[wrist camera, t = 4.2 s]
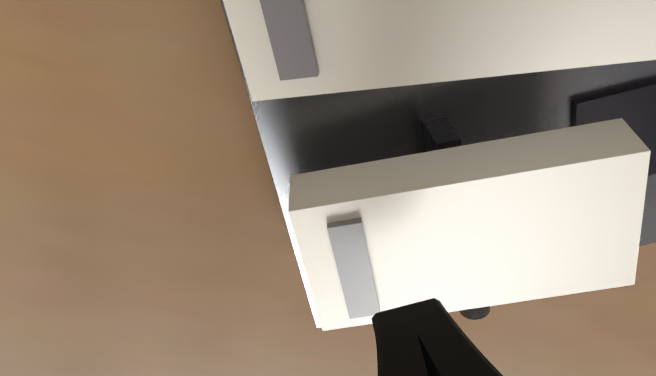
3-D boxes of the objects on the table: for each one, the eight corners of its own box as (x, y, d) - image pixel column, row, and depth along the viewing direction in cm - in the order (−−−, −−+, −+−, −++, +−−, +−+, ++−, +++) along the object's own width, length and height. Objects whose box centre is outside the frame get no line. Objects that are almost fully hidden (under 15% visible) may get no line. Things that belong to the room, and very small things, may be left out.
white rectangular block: (621, 117, 14) (654, 155, 13) (610, 246, 17) (637, 290, 15) (290, 175, 15) (287, 216, 14) (321, 290, 17) (322, 336, 16)
